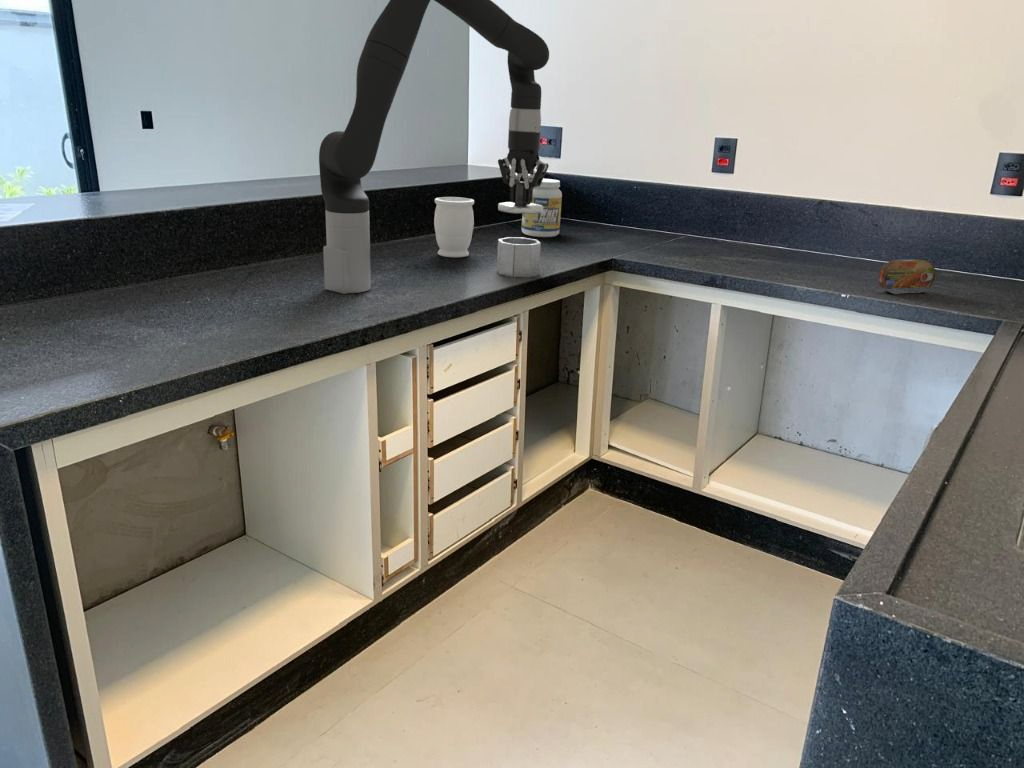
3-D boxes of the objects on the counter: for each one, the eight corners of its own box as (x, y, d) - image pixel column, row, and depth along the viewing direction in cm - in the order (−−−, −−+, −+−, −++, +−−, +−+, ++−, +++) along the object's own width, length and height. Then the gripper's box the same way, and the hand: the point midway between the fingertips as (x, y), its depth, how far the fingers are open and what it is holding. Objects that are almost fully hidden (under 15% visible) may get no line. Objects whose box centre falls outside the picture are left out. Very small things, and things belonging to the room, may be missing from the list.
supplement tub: (533, 238, 244) (536, 182, 238) (514, 231, 254) (516, 177, 248) (566, 236, 250) (570, 182, 244) (546, 230, 260) (549, 177, 254)
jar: (475, 252, 220) (476, 197, 214) (469, 260, 210) (471, 202, 205) (437, 250, 221) (438, 195, 215) (430, 257, 211) (431, 200, 206)
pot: (522, 279, 192) (524, 246, 189) (489, 272, 197) (491, 240, 194) (545, 273, 199) (547, 241, 197) (513, 266, 205) (514, 235, 202)
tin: (881, 295, 194) (889, 261, 191) (873, 291, 197) (880, 258, 194) (932, 293, 198) (940, 260, 195) (922, 290, 201) (930, 257, 198)
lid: (526, 215, 186) (528, 186, 183) (489, 209, 191) (490, 181, 189) (551, 211, 194) (553, 183, 192) (515, 205, 200) (516, 178, 198)
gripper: (491, 127, 187) (488, 201, 193) (540, 131, 179) (536, 208, 186) (509, 127, 193) (506, 198, 199) (558, 131, 185) (553, 205, 191)
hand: (520, 203), depth 192 cm, fingers closed on lid, 3 cm apart
